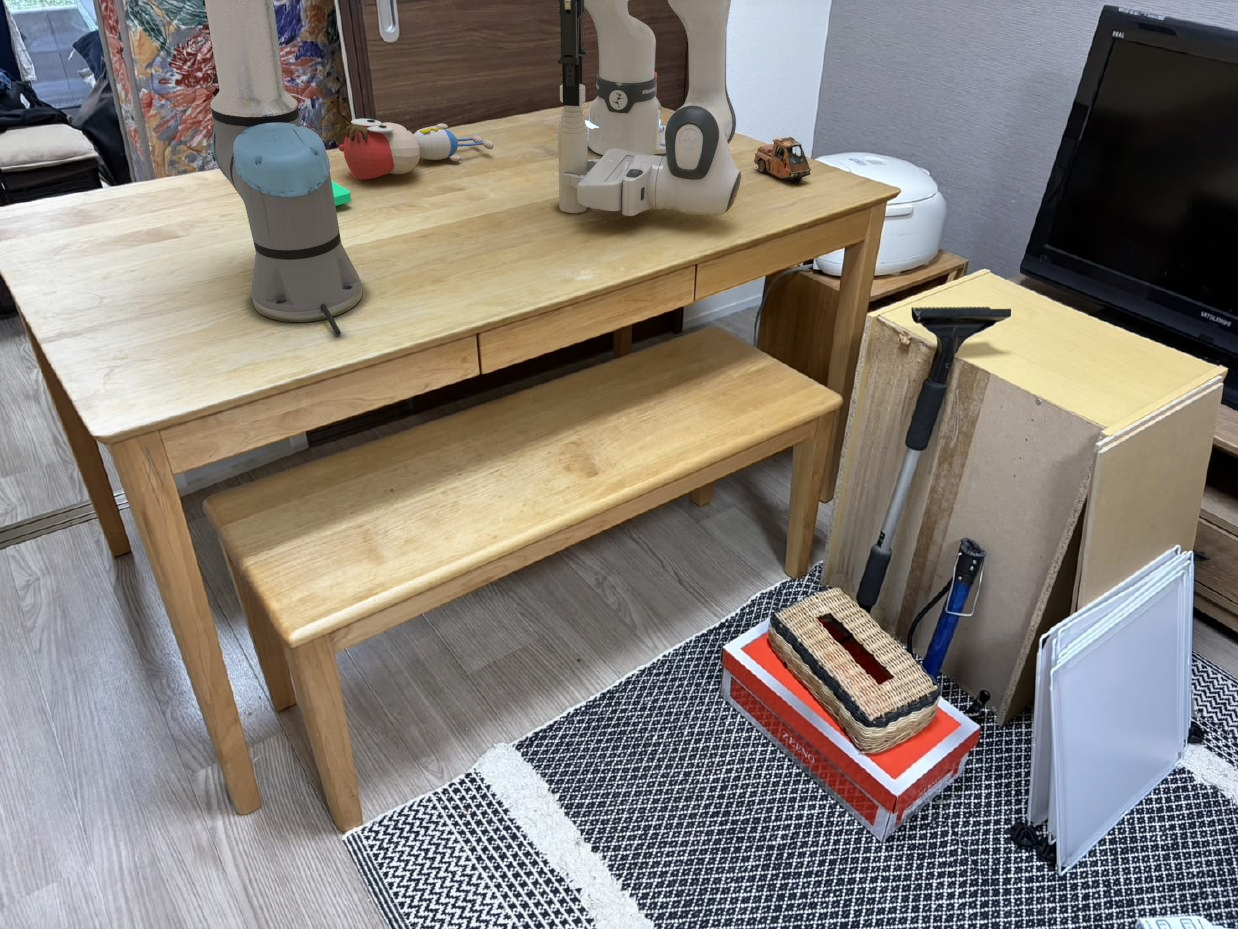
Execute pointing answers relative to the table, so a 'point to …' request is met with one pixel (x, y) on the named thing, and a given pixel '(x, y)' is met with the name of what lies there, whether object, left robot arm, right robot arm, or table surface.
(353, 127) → the toy
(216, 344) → the table surface
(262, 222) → the left robot arm
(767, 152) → the toy car
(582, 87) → the cap
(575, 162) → the bottle
